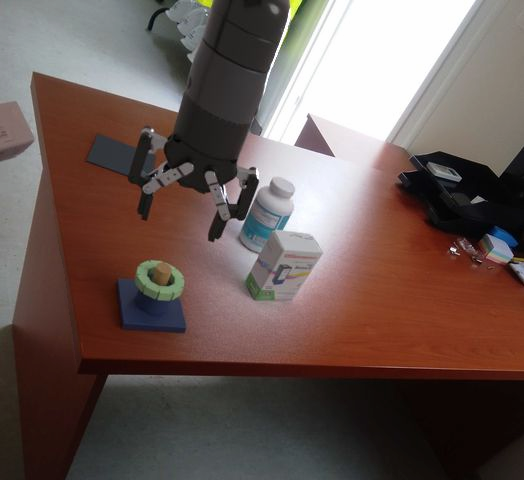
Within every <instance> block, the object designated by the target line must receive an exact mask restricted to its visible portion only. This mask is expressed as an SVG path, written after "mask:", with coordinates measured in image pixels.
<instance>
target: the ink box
mask: <svg viewBox="0 0 524 480" xmlns="http://www.w3.org/2000/svg"><path fill="white" fill-rule="evenodd" d="M323 251H324V250H322V248H321V246H320V245H319V243H318V242H317V240H316V239H315V237H314V235H312V234H311V233H309V232H300V231H291V230H284V229H283V230H275V231H272V232H271V234H270V236H269V238H268V240H267V241H266V243H265V245H264V247H263V249H262V251H261V252H260V253H258V256H257V258H256V260H255V261H254V263H253V266H252V267H251V269H250V271H249V273H248V275H247V277H246V278H245V280H244V282H245V285H246V286H247V288H248V290H249V292H250V294H251V296H252V297H253V299H254V300H255V301H279V300H280V301H282V300H283V301H284V300H294V299H295V297H296V296H297V294H298V293H299V291H300V290H301V289H302V287H303V285H304V283H305V282H306V281H307V279H308V278H309V276H310V274H311V273H312V271H313V269H315V267H316V266H317V263H318V262H319V261H320V258H321V257H322V256H323V254H324V252H323Z"/></svg>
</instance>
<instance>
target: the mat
mask: <svg viewBox="0 0 524 480" xmlns="http://www.w3.org/2000/svg"><path fill="white" fill-rule="evenodd" d="M136 148H137V147H136V146H132V145H130V144H127V143H125V142H123V141H119V140H117V139H114V138H112V137H109V136H107V135H104V134H101V133H97V135H96V137H95V139H94V142H93V143H92V146H91V149H90V150H89V153H88V155H87V158H86V160H85V162H87V163H89V164H93V165H95V166H98V167H101V168H104V169H106V170H108V171H109V170H110V171H112V172H115V173H117V174H120V175H122V176H123V175H124V176H126V177H128V175H129V172H130V168H131V165H132V161H133V158H134V155H135V152H136ZM156 160H157V155H156V154H147V157H146V160H145V163H144V166H143V169H142V170H143V171H144V172H145V173H147V174H149V173H151V172H152V171H154V168H155V163H156Z"/></svg>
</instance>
